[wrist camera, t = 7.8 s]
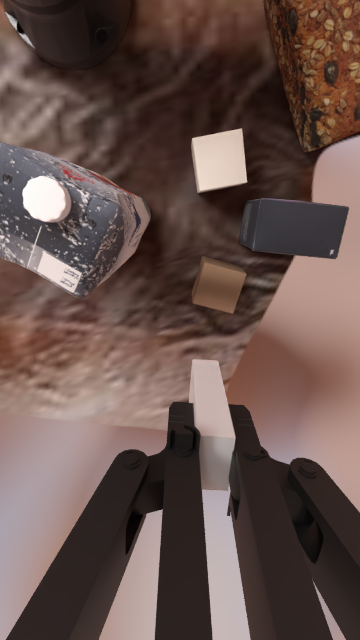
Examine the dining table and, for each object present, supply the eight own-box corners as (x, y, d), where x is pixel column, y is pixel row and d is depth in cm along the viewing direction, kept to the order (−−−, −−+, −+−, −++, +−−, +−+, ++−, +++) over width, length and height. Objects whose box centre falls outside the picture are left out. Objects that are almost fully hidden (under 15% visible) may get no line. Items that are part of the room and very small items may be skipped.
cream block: (191, 147, 44) (192, 138, 38) (234, 138, 43) (241, 128, 38) (197, 193, 46) (199, 191, 40) (239, 185, 45) (247, 182, 40)
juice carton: (133, 260, 49) (81, 317, 23) (70, 227, 47) (-61, 249, 22) (159, 206, 46) (132, 205, 21) (93, 169, 45) (-25, 118, 19)
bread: (372, 126, 43) (425, 103, 33) (295, 159, 44) (325, 146, 35) (343, -43, 37) (397, -129, 28) (255, 0, 39) (279, -67, 29)
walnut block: (202, 255, 49) (204, 262, 43) (239, 266, 49) (246, 273, 44) (191, 292, 51) (192, 303, 45) (227, 302, 51) (233, 313, 46)
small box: (316, 205, 46) (353, 204, 36) (306, 250, 48) (338, 261, 38) (244, 198, 46) (261, 195, 36) (237, 244, 48) (252, 253, 38)
